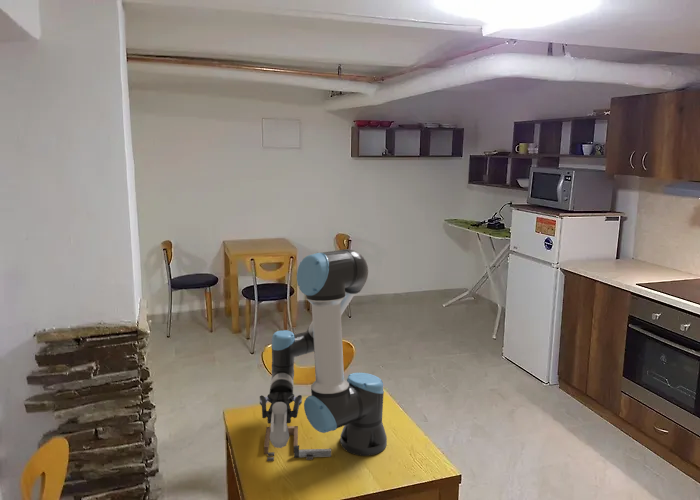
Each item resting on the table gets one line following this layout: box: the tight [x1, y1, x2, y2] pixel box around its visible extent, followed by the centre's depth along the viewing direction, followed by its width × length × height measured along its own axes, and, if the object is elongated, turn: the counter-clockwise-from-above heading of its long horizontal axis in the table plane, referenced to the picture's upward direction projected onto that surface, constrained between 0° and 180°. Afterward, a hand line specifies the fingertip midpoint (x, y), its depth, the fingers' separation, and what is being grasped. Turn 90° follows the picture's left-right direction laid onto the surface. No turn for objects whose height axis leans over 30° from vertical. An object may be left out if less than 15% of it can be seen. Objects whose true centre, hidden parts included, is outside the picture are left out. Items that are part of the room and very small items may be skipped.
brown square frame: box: [263, 425, 314, 462], centre depth 175 cm, size 15×16×2 cm
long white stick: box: [293, 445, 332, 459], centre depth 169 cm, size 12×1×3 cm, turn 95°
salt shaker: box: [269, 402, 290, 449], centre depth 160 cm, size 6×6×13 cm
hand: (278, 427), depth 154 cm, fingers closed on salt shaker, 3 cm apart
